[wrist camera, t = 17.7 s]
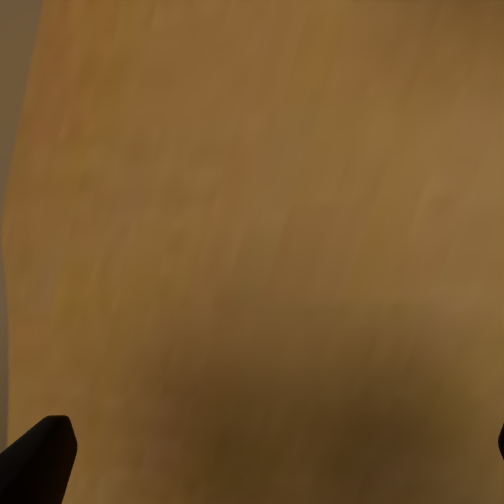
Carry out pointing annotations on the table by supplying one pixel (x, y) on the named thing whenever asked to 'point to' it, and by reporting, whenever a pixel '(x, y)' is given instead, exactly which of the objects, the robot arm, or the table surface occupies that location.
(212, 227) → the table surface
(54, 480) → the robot arm
